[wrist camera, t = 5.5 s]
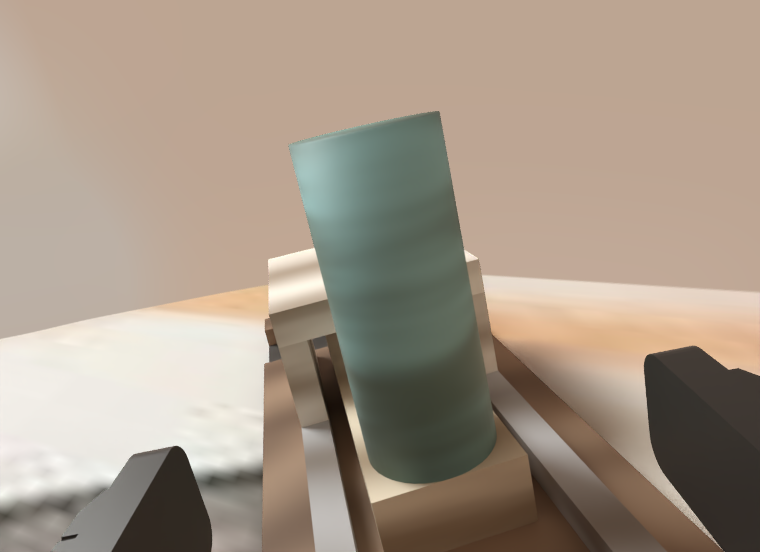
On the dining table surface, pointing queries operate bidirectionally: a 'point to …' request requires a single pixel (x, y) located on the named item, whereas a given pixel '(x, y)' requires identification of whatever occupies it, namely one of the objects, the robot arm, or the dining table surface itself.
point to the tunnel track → (509, 402)
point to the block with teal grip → (409, 337)
